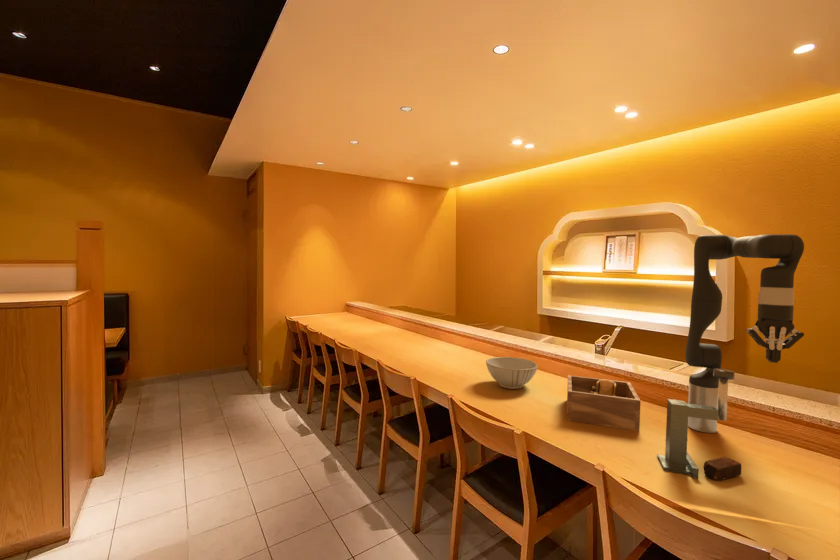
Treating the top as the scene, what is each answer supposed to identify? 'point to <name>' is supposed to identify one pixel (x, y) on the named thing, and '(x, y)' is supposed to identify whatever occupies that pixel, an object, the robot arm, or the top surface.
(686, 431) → the press frame
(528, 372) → the decorative bowl
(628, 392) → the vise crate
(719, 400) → the ram
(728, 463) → the brick
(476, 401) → the top surface
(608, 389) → the armchair
